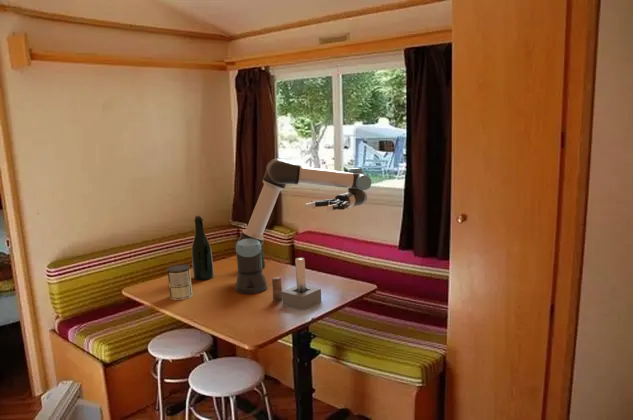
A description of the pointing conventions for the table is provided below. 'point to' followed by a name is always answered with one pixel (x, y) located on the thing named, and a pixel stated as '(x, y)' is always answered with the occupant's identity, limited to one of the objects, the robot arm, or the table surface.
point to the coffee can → (179, 282)
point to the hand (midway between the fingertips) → (316, 207)
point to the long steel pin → (300, 275)
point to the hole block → (301, 297)
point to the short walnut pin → (277, 289)
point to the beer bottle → (201, 253)
